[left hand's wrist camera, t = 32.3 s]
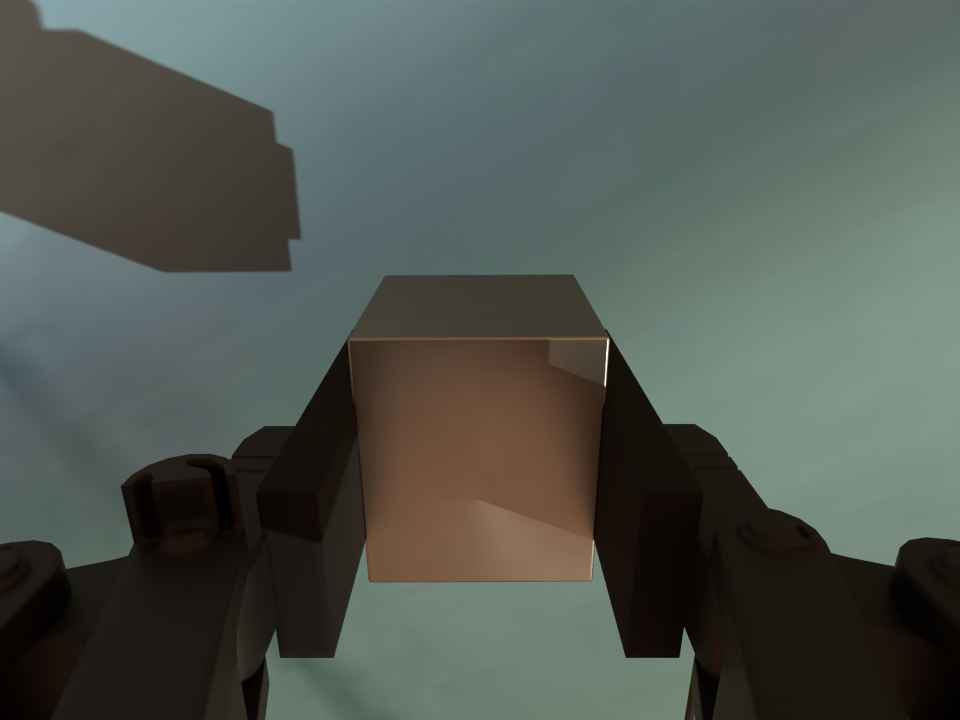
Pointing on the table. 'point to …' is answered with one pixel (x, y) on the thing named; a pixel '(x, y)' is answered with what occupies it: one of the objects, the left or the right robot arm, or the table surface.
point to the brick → (479, 427)
